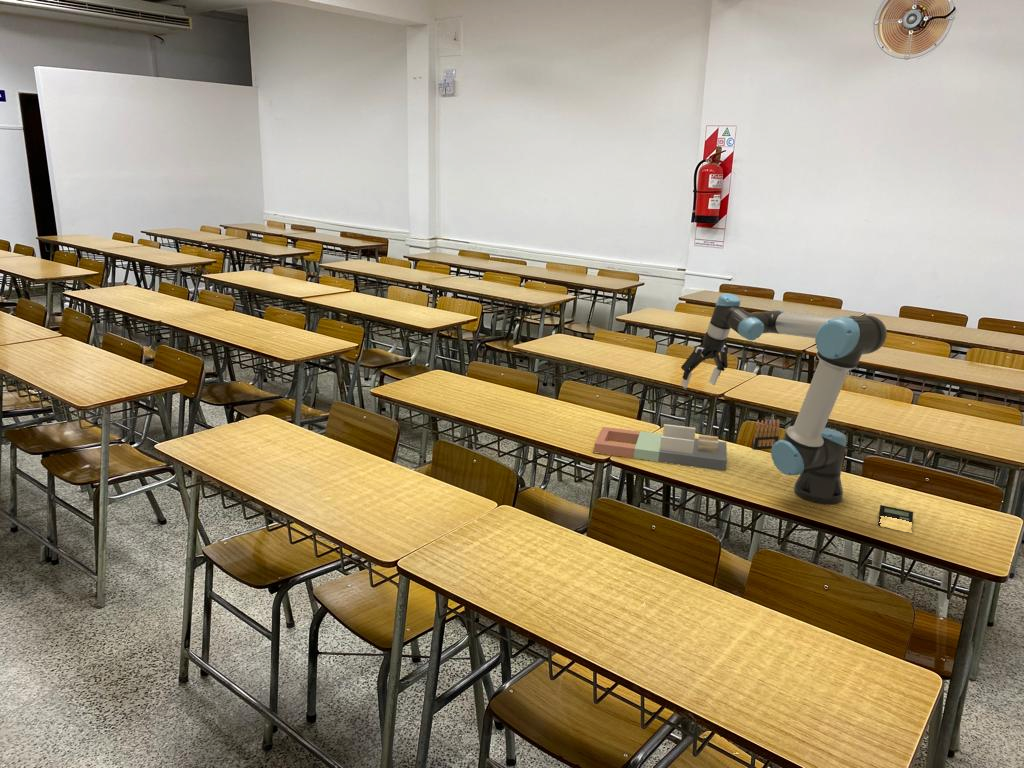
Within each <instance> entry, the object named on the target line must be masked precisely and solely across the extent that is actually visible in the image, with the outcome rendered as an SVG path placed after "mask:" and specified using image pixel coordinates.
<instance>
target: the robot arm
mask: <svg viewBox="0 0 1024 768" xmlns="http://www.w3.org/2000/svg"><path fill="white" fill-rule="evenodd" d="M741 301H742V300H741V298H740V297H739V296H737V295H736V294H733V293H729V292H728V293H727V292H726V293H725V292H724V293H721V294H720V295H719V296H718V299H717V301H716V302H715V305H714V309H713V312H712V315H711V318H710V321H709V324H708V326H707V329H706V332H705V333H704V337H703V339H702V343H703V345H702V346H701V347H699V346H698V345H696V346H694V349H693V351H692V352H691V354H690V355H689V356H688V357H687V359H686V360H685V361H684V362H683V364H682V365H681V367H680V369H681V370H682V371H684V372H683V374H682V379H681V382H680V386H682V387H683V388H684V389H688V386H689V382H690V380H691V377H692V375H693V373H692V372H693V370H695V369H696V368H697V367H698V366H699V365H700V364H702V362H704V361H705V360H708V359H711V360H712V359H713V361H714V363H715V366H714V367H713V370H712V373H711V376H710V378H709V381H708V382H709V383H710V385H712V386H716V383H717V381H718V379H719V377H720V375H721V373H722V372H724V371H725V369H727V368H728V349H729V347H728V346H726V345H725V344H726V342H727V338H728V336H729V333H730V331H731V329H732V331H734V332H736V333H737V334H738V335H740V336H741V337H742V338H744V339H746V340H748V341H755V340H756V339H759V338H760V337H761V336H762V335H763V334H777V335H787V336H788V335H789V336H793V337H802V338H810V339H814V343H815V344H816V346H815V348H816V349H817V352H816V356H817V358H818V359H819V362H818V364H817V366H816V368H815V369H816V370H815V371H814V374H813V377H812V379H811V382H810V384H809V387H808V390H807V391H806V393H805V397H804V400H803V402H802V404H801V407H800V410H799V412H798V415H797V417H796V419H795V422H794V424H793V425H790V426H788V428H786V431H785V433H784V436H783V438H782V439H779V441H777V442H775V443H774V445H773V446H772V449H770V456H771V460H772V461H773V464H774V466H775V468H776V469H777V470H778V471H779V472H781V473H782V474H783V475H786V476H798V477H797V479H796V481H795V483H794V488H793V492H794V494H796V495H797V496H798V497H800V498H802V499H804V500H806V501H809V502H812V503H817V504H822V505H823V504H825V505H833V504H838V502H839V503H840V502H842V500H843V496H844V490H843V486H842V485H843V484H842V479H841V474H842V469H843V462H844V458H845V457H844V456H845V451H846V448H847V436H846V435H845V434H844V433H843V432H842V431H838V430H836V429H833V428H829V427H826V425H827V423H828V421H829V419H830V416H831V414H832V412H833V410H834V408H835V407H834V406H835V404H836V402H837V399H838V397H839V394H840V392H841V390H842V387H843V385H844V384H845V380H846V378H847V376H848V373H849V371H851V370H854V369H856V368H857V366H858V364H859V362H860V360H861V357H862V355H869V354H873V353H875V352H877V351H879V350H880V348H882V347H883V346H884V344H885V342H886V340H887V338H888V337H887V335H888V333H887V327H886V324H884V322H883V321H882V320H881V319H880V318H878V317H876V316H873V315H866V314H864V315H849V316H838V317H835V316H826V315H825V316H824V315H814V314H803V313H796V312H795V313H794V312H786V311H784V310H775V309H774V310H771V311H769V310H768V311H757V312H748V311H747V310H745V309H743V308H741V306H740V305H741ZM719 353H720V355H719Z"/></svg>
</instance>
